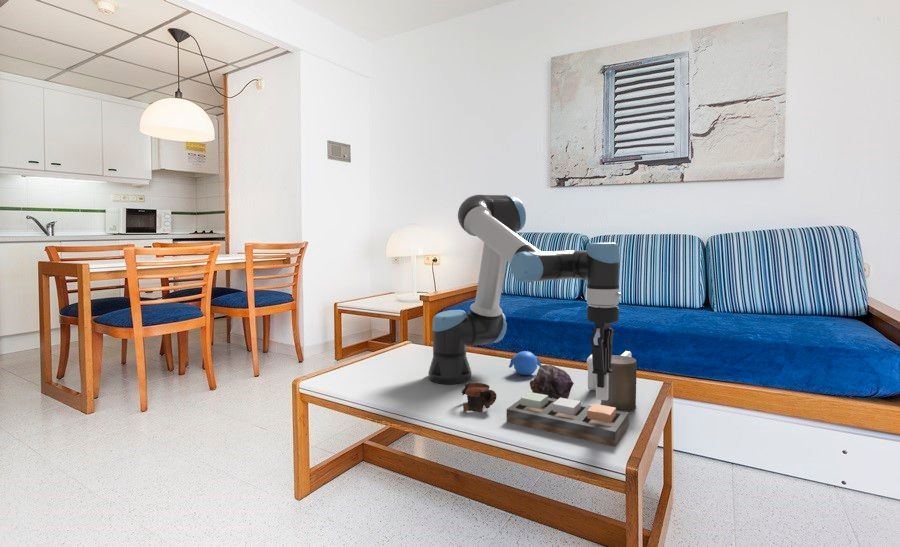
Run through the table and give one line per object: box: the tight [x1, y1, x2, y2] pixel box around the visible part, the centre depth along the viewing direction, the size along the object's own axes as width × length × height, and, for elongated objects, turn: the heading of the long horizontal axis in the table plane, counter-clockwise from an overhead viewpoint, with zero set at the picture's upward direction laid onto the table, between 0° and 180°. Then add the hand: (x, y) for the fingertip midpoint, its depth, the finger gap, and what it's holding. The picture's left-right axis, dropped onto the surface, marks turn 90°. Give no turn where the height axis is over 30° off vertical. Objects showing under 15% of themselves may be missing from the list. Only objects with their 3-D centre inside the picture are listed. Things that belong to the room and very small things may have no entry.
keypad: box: [506, 398, 630, 447], centre depth 121 cm, size 28×14×4 cm, turn 57°
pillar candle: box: [600, 354, 637, 412], centre depth 133 cm, size 10×10×15 cm
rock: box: [529, 364, 574, 399], centre depth 142 cm, size 12×9×10 cm
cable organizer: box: [586, 350, 632, 391], centre depth 149 cm, size 15×11×12 cm
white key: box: [553, 398, 582, 416], centre depth 121 cm, size 6×6×2 cm
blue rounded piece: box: [508, 350, 542, 376], centre depth 167 cm, size 12×12×8 cm
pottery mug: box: [461, 382, 497, 413], centre depth 134 cm, size 12×10×8 cm
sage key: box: [520, 391, 548, 409], centre depth 126 cm, size 6×6×2 cm
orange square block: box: [587, 403, 616, 423], centre depth 116 cm, size 6×6×2 cm
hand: (602, 398), depth 116 cm, fingers closed
